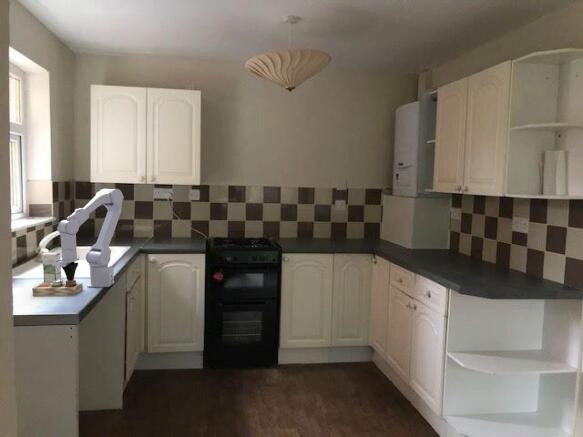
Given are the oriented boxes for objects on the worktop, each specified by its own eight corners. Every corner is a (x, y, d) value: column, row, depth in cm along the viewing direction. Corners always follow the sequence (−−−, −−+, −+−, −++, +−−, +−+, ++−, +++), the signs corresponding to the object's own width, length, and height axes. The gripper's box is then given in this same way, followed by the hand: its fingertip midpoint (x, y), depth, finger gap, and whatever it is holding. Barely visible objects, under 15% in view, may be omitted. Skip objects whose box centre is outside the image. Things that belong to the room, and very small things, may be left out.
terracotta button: (52, 288, 209) (51, 282, 209) (47, 290, 205) (47, 285, 205) (42, 288, 209) (42, 282, 208) (37, 290, 205) (37, 285, 204)
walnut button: (77, 285, 209) (77, 279, 209) (73, 287, 205) (73, 281, 205) (68, 285, 209) (68, 279, 209) (64, 287, 205) (63, 281, 205)
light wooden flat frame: (82, 289, 212) (82, 282, 211) (74, 295, 203) (73, 288, 202) (43, 289, 211) (42, 283, 211) (32, 295, 202) (32, 288, 202)
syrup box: (62, 282, 225) (60, 251, 223) (56, 285, 219) (54, 253, 217) (49, 282, 225) (47, 251, 223) (43, 285, 219) (41, 253, 217)
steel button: (64, 285, 209) (64, 279, 209) (60, 287, 205) (60, 281, 205) (55, 285, 209) (55, 279, 208) (51, 287, 205) (50, 282, 204)
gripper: (66, 245, 212) (68, 276, 214) (51, 251, 198) (53, 284, 199) (83, 245, 212) (84, 276, 214) (68, 251, 198) (70, 284, 199)
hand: (70, 280), depth 207 cm, fingers closed
